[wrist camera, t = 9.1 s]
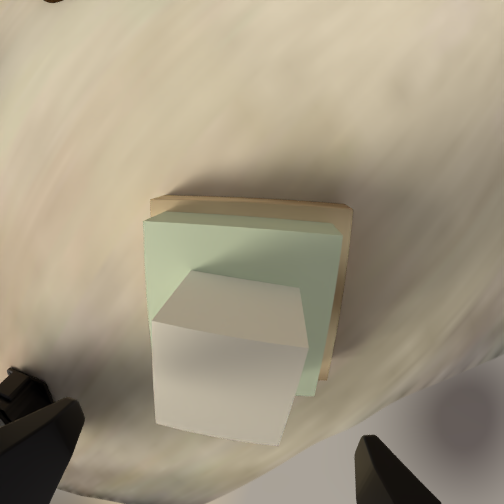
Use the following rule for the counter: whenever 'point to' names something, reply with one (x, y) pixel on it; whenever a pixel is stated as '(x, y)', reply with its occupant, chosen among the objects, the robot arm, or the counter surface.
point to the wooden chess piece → (52, 1)
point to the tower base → (281, 210)
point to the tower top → (248, 264)
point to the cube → (228, 357)
